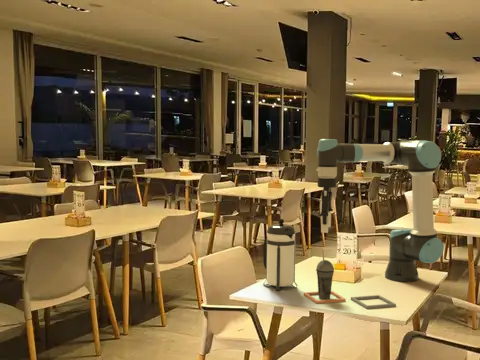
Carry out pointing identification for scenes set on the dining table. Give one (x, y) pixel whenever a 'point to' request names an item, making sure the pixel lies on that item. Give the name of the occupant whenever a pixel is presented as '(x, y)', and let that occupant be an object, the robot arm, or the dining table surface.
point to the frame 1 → (324, 300)
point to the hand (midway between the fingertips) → (326, 229)
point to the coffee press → (280, 255)
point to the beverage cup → (324, 278)
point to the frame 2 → (390, 304)
